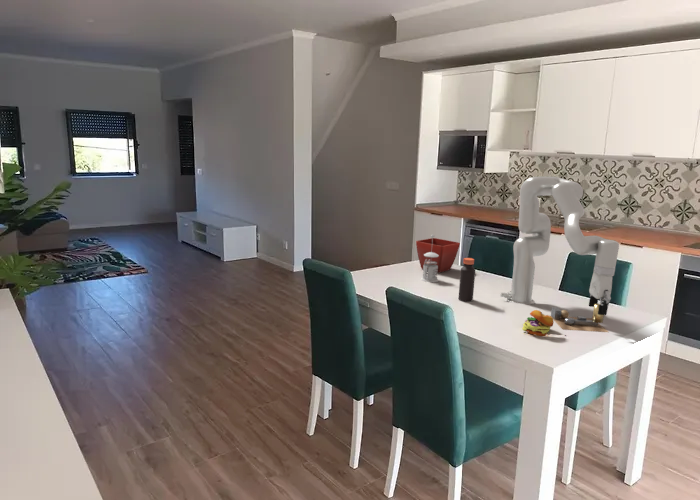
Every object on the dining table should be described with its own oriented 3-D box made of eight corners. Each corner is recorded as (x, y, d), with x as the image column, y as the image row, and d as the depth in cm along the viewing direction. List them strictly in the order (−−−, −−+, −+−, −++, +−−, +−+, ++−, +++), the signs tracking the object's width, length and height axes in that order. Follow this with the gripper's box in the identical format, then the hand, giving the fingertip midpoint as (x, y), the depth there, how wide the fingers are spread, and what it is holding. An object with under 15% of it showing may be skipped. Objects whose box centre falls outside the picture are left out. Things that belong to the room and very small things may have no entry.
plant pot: (458, 270, 303) (460, 242, 299) (440, 275, 289) (442, 246, 286) (431, 264, 316) (433, 237, 312) (413, 268, 302) (415, 241, 299)
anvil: (554, 319, 215) (555, 310, 214) (550, 315, 220) (551, 306, 219) (560, 320, 215) (561, 310, 214) (556, 316, 220) (557, 307, 219)
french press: (441, 279, 280) (444, 234, 275) (433, 283, 270) (436, 237, 265) (425, 276, 285) (428, 232, 280) (416, 280, 275) (419, 235, 270)
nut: (560, 319, 215) (561, 311, 215) (558, 316, 219) (559, 308, 218) (569, 320, 215) (570, 311, 214) (566, 317, 219) (567, 309, 218)
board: (562, 332, 204) (562, 329, 203) (549, 318, 220) (549, 315, 220) (608, 335, 202) (609, 332, 202) (592, 320, 219) (592, 318, 219)
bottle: (475, 300, 243) (479, 259, 239) (468, 302, 238) (471, 261, 234) (463, 296, 248) (466, 256, 244) (455, 299, 243) (458, 258, 239)
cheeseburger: (516, 327, 207) (524, 304, 205) (540, 333, 208) (548, 311, 206) (527, 336, 197) (535, 312, 195) (552, 342, 198) (560, 319, 197)
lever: (566, 325, 208) (568, 304, 206) (561, 320, 213) (564, 301, 211) (603, 327, 207) (606, 306, 205) (598, 322, 212) (601, 302, 210)
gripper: (586, 264, 213) (580, 303, 217) (603, 275, 196) (596, 317, 200) (605, 265, 213) (598, 304, 217) (623, 276, 196) (615, 318, 200)
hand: (597, 310), depth 208 cm, fingers open, 9 cm apart
